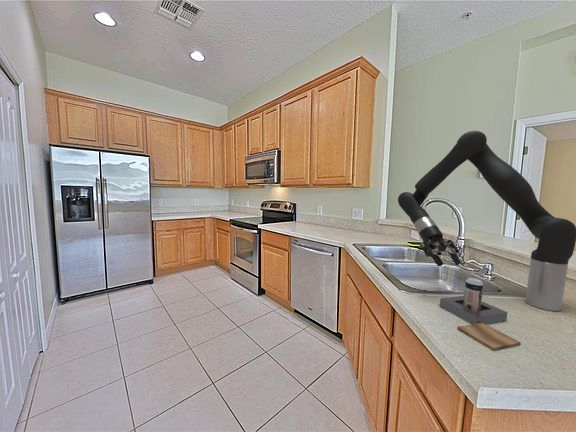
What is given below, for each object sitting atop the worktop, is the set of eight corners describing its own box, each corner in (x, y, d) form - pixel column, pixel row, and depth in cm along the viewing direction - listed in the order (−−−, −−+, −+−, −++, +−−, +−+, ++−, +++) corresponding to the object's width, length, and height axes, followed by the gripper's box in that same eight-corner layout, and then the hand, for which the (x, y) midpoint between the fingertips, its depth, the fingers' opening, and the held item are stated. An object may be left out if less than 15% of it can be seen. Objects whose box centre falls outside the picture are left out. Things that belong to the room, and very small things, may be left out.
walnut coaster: (482, 325, 74) (482, 322, 74) (520, 345, 64) (520, 342, 64) (457, 329, 71) (457, 326, 71) (493, 350, 62) (493, 347, 62)
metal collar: (467, 302, 89) (467, 295, 89) (506, 321, 76) (507, 312, 76) (439, 306, 86) (440, 298, 85) (476, 326, 73) (477, 316, 73)
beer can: (483, 317, 78) (487, 283, 77) (467, 315, 79) (470, 281, 78) (474, 310, 83) (478, 277, 82) (459, 309, 84) (463, 276, 83)
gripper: (419, 224, 94) (442, 261, 84) (447, 224, 97) (472, 259, 88) (408, 235, 99) (428, 270, 90) (435, 234, 103) (457, 268, 93)
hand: (450, 264), depth 89 cm, fingers open, 8 cm apart
